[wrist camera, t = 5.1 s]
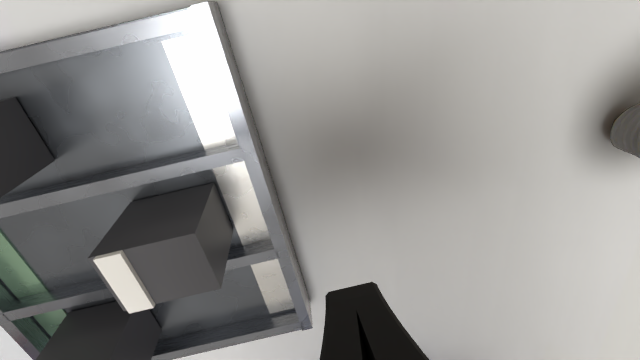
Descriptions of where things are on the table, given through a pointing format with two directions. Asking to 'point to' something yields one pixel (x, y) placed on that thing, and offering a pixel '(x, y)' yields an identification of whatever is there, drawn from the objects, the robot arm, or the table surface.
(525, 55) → the table surface
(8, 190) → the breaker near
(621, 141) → the light bulb
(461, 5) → the table surface
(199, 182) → the panel
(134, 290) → the block
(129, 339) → the breaker far
